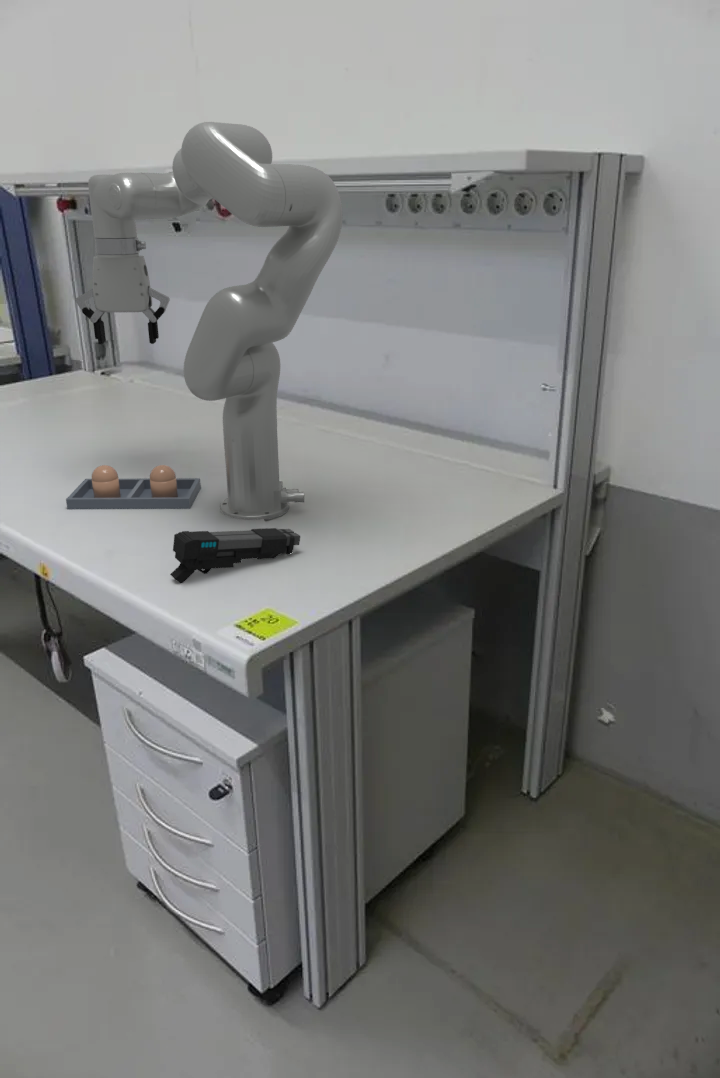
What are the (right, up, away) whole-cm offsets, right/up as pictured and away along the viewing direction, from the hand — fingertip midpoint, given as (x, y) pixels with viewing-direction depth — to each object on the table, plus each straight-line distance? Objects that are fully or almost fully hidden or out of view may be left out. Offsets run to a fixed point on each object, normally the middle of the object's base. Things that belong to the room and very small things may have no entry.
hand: (127, 342), depth 155 cm
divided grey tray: (+2, -30, -1) cm, 30 cm away
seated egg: (+8, -30, -2) cm, 31 cm away
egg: (-3, -30, -2) cm, 30 cm away
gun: (+25, -42, -28) cm, 57 cm away
